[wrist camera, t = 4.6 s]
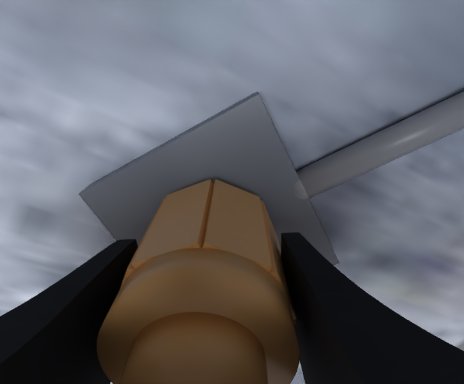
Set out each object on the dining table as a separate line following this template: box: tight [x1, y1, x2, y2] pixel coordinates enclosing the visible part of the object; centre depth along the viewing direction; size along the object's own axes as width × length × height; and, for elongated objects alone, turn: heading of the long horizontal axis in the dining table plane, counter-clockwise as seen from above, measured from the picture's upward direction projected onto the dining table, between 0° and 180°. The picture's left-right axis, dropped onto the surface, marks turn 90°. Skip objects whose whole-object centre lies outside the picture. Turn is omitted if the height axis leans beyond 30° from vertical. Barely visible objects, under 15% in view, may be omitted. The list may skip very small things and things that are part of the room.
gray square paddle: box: [79, 91, 464, 265], centre depth 10 cm, size 19×8×4 cm, turn 118°
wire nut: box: [97, 179, 300, 384], centre depth 9 cm, size 5×5×6 cm
